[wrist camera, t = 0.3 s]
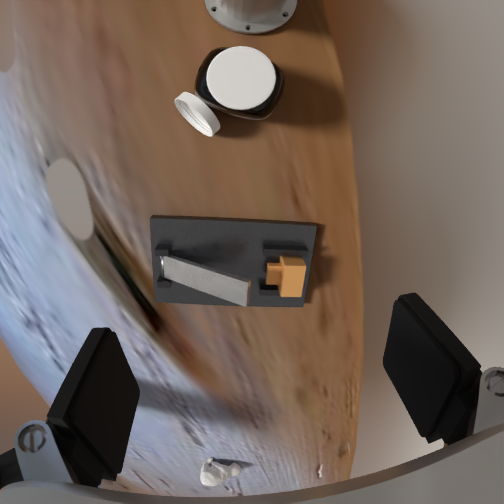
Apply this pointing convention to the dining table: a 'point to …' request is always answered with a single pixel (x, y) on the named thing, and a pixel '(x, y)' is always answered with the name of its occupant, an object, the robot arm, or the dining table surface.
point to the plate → (229, 254)
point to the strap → (206, 279)
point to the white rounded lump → (217, 472)
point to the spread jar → (232, 88)
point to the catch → (287, 275)
